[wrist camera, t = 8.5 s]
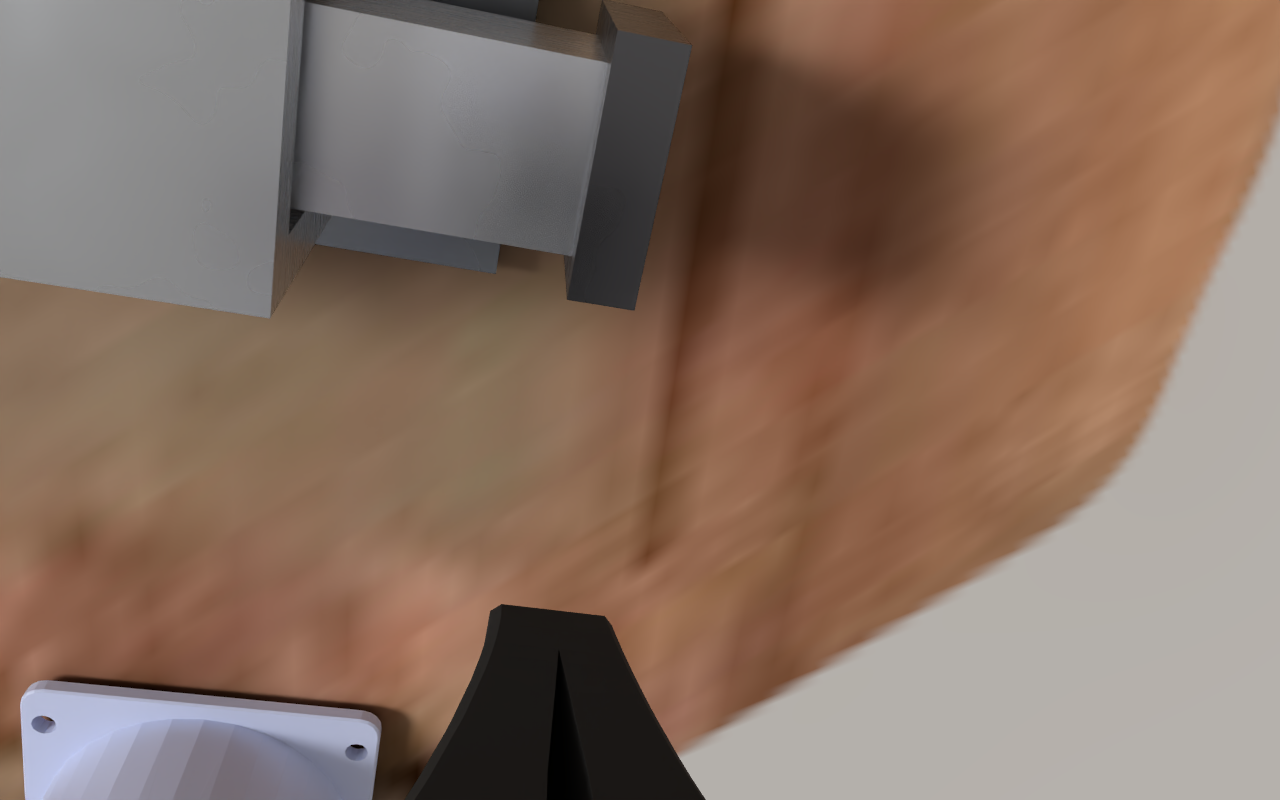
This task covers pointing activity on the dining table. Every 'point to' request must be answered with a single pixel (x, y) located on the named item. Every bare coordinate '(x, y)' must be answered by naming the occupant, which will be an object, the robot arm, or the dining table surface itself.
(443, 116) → the shaft
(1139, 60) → the dining table surface
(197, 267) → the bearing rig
